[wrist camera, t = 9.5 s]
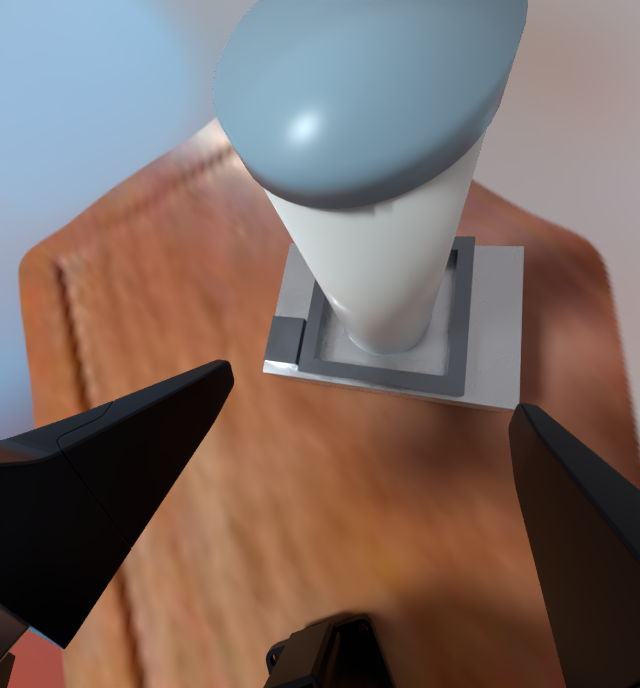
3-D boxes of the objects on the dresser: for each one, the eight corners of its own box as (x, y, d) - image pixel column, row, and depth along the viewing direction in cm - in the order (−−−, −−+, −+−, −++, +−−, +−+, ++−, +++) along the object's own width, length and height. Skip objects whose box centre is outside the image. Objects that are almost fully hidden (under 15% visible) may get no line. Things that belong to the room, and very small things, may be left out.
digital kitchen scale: (499, 412, 17) (529, 409, 13) (280, 378, 21) (253, 368, 17) (505, 272, 19) (532, 233, 15) (303, 265, 23) (284, 232, 19)
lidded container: (427, 362, 16) (522, 156, 4) (335, 351, 18) (180, 177, 5) (436, 275, 17) (532, -110, 5) (348, 272, 19) (247, -31, 6)
